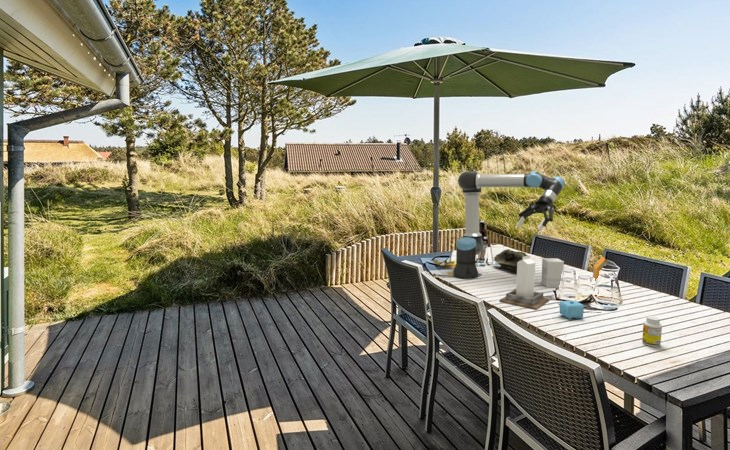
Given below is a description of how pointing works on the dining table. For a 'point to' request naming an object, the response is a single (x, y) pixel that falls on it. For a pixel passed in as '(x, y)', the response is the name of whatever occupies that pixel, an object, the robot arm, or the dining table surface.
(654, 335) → the supplement bottle
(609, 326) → the dining table surface
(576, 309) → the light blue block
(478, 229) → the robot arm
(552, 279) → the supplement box
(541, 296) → the holder
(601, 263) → the orange juice
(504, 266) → the hollow geode rock
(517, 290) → the milk
